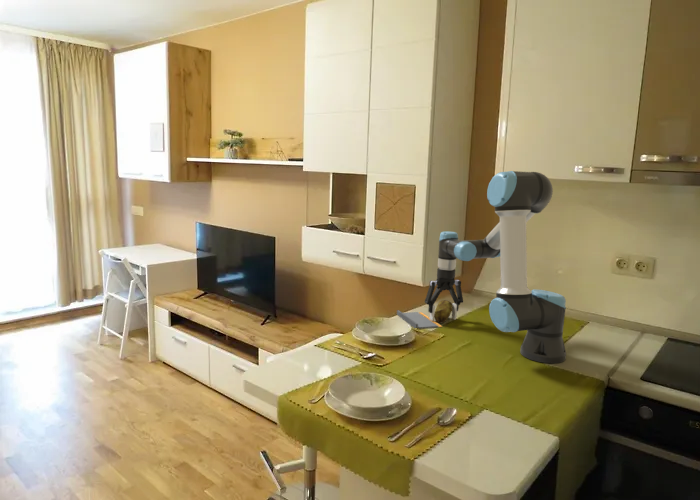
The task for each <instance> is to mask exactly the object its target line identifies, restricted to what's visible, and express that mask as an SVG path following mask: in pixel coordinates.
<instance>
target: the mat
mask: <svg viewBox="0 0 700 500" xmlns="http://www.w3.org/2000/svg"><path fill="white" fill-rule="evenodd" d="M396 315H397V316H398V317H400V318H401V319H402V320H404V321H405V322H406V323H408V325H410V326H411V327H413V329H415V328H419V330H420V329H433V328H438V327H439V326H438V325H436V324H435V323H433V322H432V321H430V320H429V319H427V318H426V317H424V316H423V315H421V314H420V313H419V312H418V311H410V312H409V311H408V312H402V311H400V309H399V310H398V309H397V310H396Z"/></svg>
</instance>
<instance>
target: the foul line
mask: <svg viewBox="0 0 700 500" xmlns="http://www.w3.org/2000/svg"><path fill="white" fill-rule="evenodd" d="M418 313H420V314H421V315H423V316H424V317H426V318H427V319H428V320H430V316H428V315H426V314H425V313H423V312H422V311H421V312H420V311H419V312H418ZM430 321H431V322H433V323H434V324H436V325H437V326H438V327H439V328H442V327H443V326H442V325H441V323H439V322H437V321H436V320H434V321H432V320H430Z"/></svg>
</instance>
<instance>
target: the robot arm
mask: <svg viewBox="0 0 700 500" xmlns="http://www.w3.org/2000/svg"><path fill="white" fill-rule="evenodd" d="M486 192H487V193H486V196H487V197H486V198H487V200H488V203H489V204H490V205H491V206H492V207H493V208H494V213H495V214H496V215H497V216H498V217H499V222H498V223H497V224H496V225H495V226H494V227H493V229H492V230H491V231H490V232H489V233H488V234H487V235H486V236H485V237H484V239H465V240H464V239H463V240H462V239H459V235H458V232H456V231H448V230H446V231H441V232H440V235H439V240H438V254H437V255H438V258H437V271H436V280H429V287H428V290H427V294H426V297H425V299H424V303H425V304H426V305H428V313H429V318H430V320H432V321H435V318H434V314H435V309H436V305H435V303H436V301H437V299H438V298H439V296H440V294H441V293H442V292H443V291H448V292H449V294H450V296H451V298H452V301H453V302H451V303H452V312H451V315H450V316H451V317H450V318H451V319H453V320H457V313H458V311H459V307H460V305H461V303H462V304H463V303H464V297H463V292H462V287H461V286H462V280H459V279H455V278H456V267H457V259H458V260H460V261H463V262H469V261H472V260H473V259H495V258H499V259H500V260H499V261H500V287H499V288H498V289H497V290H496V292H495V293H496V296H495V297H494V298H493V299H492V300H491V301H490V303H489V307H488V311H489V316H490V319H491V322H492V323H493V324H494V326H495V327H496V328H497V330H499V331H501V332H502V333H503V332H504V333H510V332H511V333H516V332H522V331H523V332H524V331H526V334H525V337H524V339H523V342H522V343H521V346H520V351H519V352H520V354H521V356H523V357H524V358H526V359H528V360H531V361H534V362H538V363H543V364H557V363H559V364H560V363H563V362H565V361H566V358H567V351H566V345H565V342H564V338H563V332H564V324H565V316H566V308H567V307H566V300H567V299H566V298H565V296H564V295H562V294H561V293H557V292H554V291H549V290H544V289H534V288H533V289H532V290H531V289H530V288H529V287H528V255H527V254H528V253H527V223H528V221H530V220H531V219H532V218H533V216H534V215H535V214H536V215H537V214H540V213H541V212H542V211H543V210H544V209H545V208H546V207H548V205H549V203H550V202H551V201H552V200H551V199H552V198H553V192H554V189H553V184H552V182H551V180H550V179H549V177H548V176H546V175H545V174H543V173H541V172H539V171H538V172H537V171H514V170H509V171H500V172H498V173H496V174H495V175H494V176H492V178H491V180H490V182H489V183H488V186H487V191H486ZM454 285H455V289H454ZM435 287H436V288H435ZM455 290H456V292H455ZM432 321H431V322H432Z"/></svg>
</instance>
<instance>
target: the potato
mask: <svg viewBox="0 0 700 500" xmlns="http://www.w3.org/2000/svg"><path fill="white" fill-rule="evenodd" d="M452 303H453V302H451V301H450V300H446V299H445V300H444V299H443V300H440V301H439V302H438V303H437V304H436V306H435V313H434V321H435V322H437V323H438V324H443V323H446V321H448V318H450V316H451V315H452Z"/></svg>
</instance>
